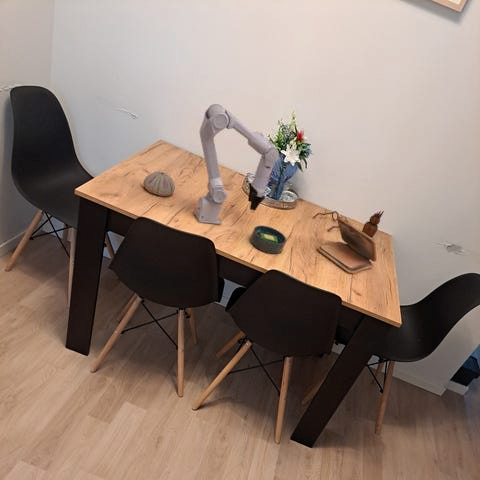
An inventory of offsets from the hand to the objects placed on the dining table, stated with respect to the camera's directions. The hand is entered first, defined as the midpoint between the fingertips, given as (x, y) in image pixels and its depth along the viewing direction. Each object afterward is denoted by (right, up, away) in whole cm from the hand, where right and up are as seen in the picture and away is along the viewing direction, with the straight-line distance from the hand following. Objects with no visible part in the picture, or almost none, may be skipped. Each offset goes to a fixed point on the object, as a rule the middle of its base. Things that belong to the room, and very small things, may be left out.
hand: (251, 205), depth 194 cm
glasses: (+39, -1, +37) cm, 54 cm away
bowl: (+6, -17, -3) cm, 18 cm away
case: (+41, -21, +11) cm, 47 cm away
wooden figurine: (+58, -6, +40) cm, 71 cm away
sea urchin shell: (-40, +7, +5) cm, 41 cm away
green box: (+6, -16, -3) cm, 18 cm away
